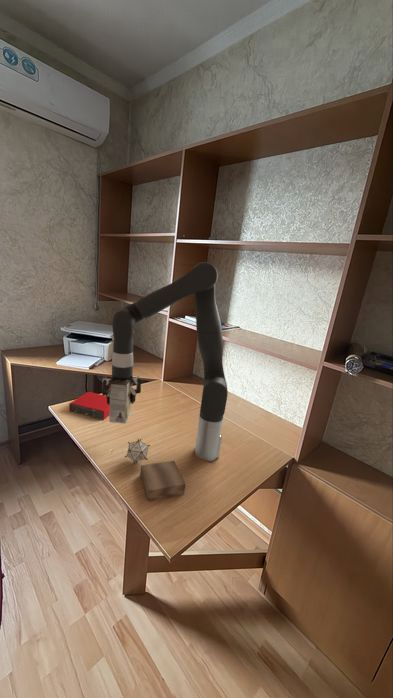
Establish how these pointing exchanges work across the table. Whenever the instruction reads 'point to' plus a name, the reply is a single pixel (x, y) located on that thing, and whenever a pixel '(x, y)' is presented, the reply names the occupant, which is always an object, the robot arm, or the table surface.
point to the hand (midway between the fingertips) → (120, 403)
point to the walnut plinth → (162, 480)
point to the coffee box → (120, 401)
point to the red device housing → (91, 405)
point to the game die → (137, 451)
